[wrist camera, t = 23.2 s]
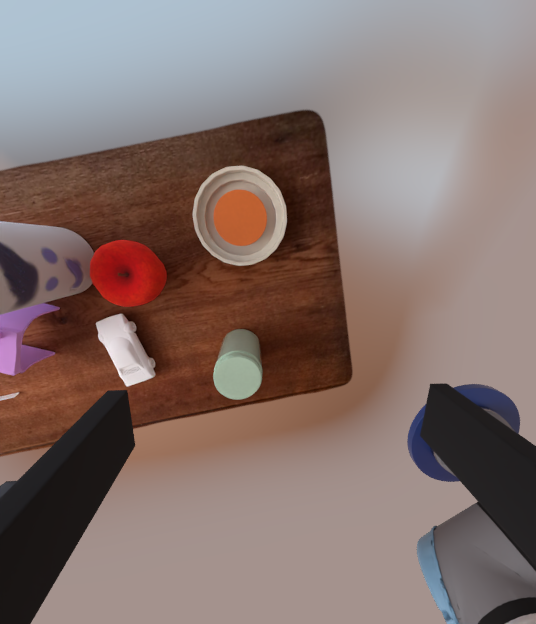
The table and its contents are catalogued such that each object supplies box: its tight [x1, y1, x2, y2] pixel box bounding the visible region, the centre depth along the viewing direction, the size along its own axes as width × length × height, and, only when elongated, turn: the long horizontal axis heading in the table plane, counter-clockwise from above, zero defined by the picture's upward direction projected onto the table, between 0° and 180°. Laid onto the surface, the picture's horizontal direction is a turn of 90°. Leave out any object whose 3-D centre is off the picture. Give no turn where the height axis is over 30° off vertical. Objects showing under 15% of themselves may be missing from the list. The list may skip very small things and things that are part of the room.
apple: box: [90, 240, 167, 307], centre depth 35 cm, size 9×9×8 cm
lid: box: [213, 189, 267, 246], centre depth 36 cm, size 8×8×2 cm
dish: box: [193, 166, 287, 266], centre depth 36 cm, size 13×13×3 cm
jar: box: [213, 329, 262, 399], centre depth 38 cm, size 7×7×11 cm
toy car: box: [96, 314, 156, 386], centre depth 40 cm, size 6×12×3 cm, turn 19°
